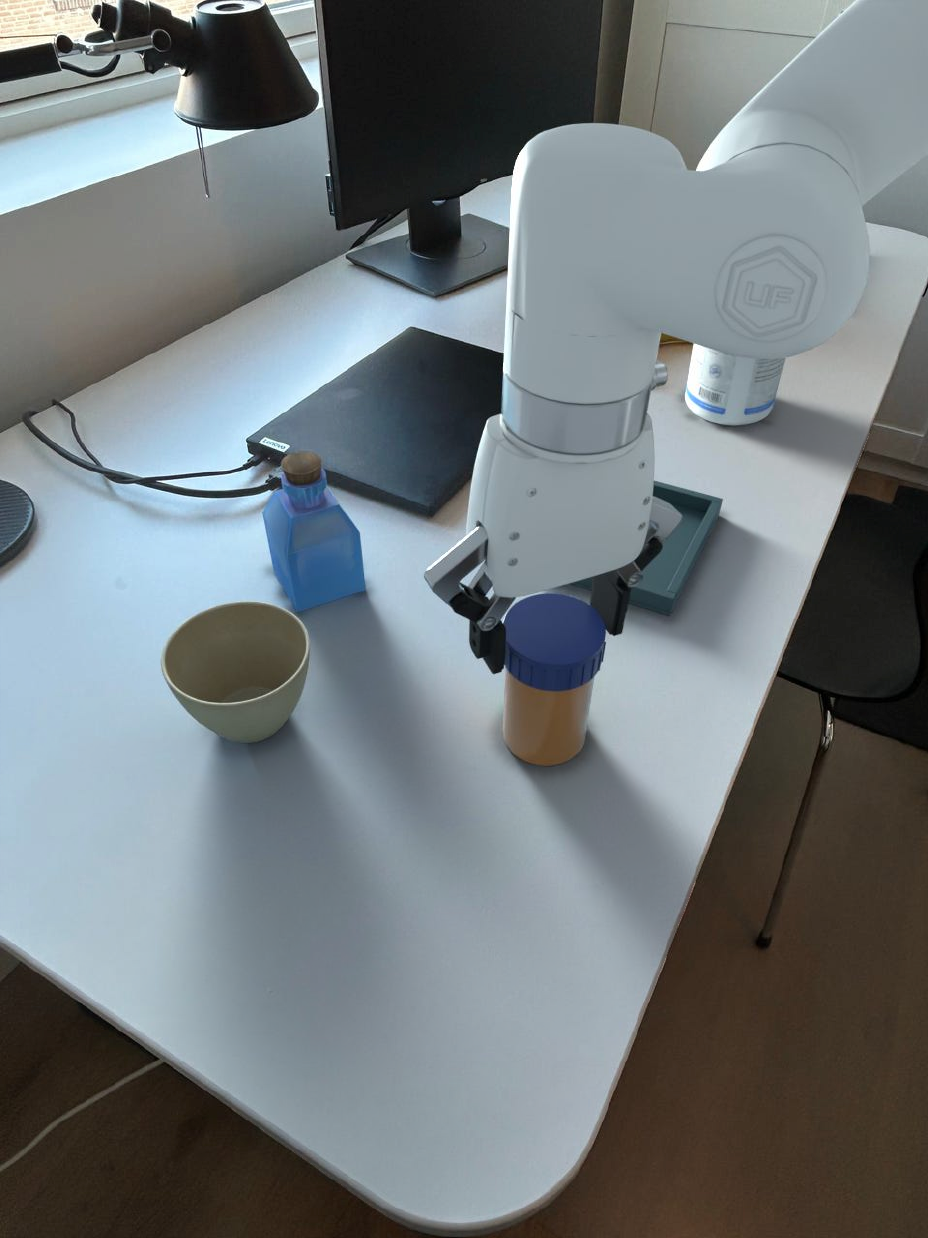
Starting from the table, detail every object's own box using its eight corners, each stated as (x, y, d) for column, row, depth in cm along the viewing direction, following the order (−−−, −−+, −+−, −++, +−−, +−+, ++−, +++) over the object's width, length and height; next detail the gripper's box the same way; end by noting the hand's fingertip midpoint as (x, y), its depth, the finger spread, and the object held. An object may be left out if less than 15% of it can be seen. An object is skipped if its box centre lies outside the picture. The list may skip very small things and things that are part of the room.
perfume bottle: (273, 569, 77) (250, 452, 69) (339, 549, 79) (324, 433, 71) (297, 612, 73) (275, 493, 65) (365, 589, 75) (353, 472, 67)
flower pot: (212, 794, 60) (190, 727, 55) (165, 700, 66) (141, 632, 61) (344, 733, 64) (334, 666, 59) (288, 650, 70) (274, 582, 65)
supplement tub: (761, 385, 101) (794, 256, 91) (780, 429, 94) (818, 295, 84) (676, 384, 101) (699, 255, 91) (689, 428, 94) (716, 294, 84)
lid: (571, 608, 61) (574, 581, 60) (622, 673, 57) (626, 646, 55) (483, 636, 60) (484, 608, 58) (528, 705, 55) (531, 678, 53)
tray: (584, 477, 87) (586, 461, 86) (719, 515, 83) (723, 498, 82) (520, 568, 77) (521, 551, 76) (669, 616, 73) (673, 599, 72)
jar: (560, 692, 67) (571, 592, 60) (600, 749, 63) (617, 649, 56) (489, 716, 65) (492, 616, 58) (525, 777, 61) (533, 677, 54)
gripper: (675, 339, 50) (631, 571, 62) (390, 398, 45) (402, 639, 57) (757, 401, 45) (692, 640, 58) (447, 475, 40) (447, 721, 52)
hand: (548, 638), depth 57 cm, fingers open, 8 cm apart
